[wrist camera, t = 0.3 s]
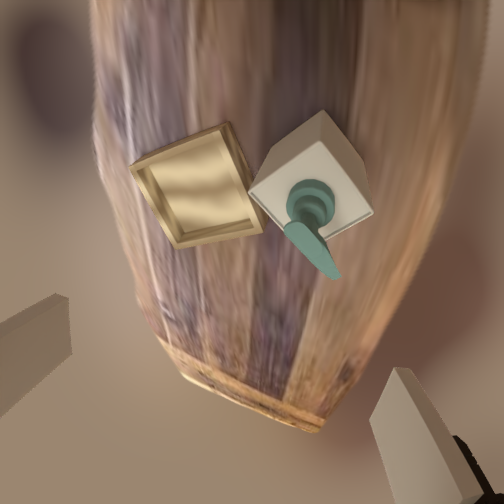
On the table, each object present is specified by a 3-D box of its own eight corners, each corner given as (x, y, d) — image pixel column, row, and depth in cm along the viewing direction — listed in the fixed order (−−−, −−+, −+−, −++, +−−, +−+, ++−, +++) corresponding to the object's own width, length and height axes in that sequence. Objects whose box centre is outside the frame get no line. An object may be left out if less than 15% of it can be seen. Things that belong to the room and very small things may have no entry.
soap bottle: (312, 196, 42) (296, 299, 27) (270, 147, 39) (226, 230, 24) (365, 163, 37) (383, 258, 22) (323, 108, 34) (316, 168, 19)
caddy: (142, 156, 44) (128, 167, 41) (229, 121, 38) (219, 130, 35) (185, 235, 51) (175, 249, 48) (269, 216, 45) (263, 232, 42)
